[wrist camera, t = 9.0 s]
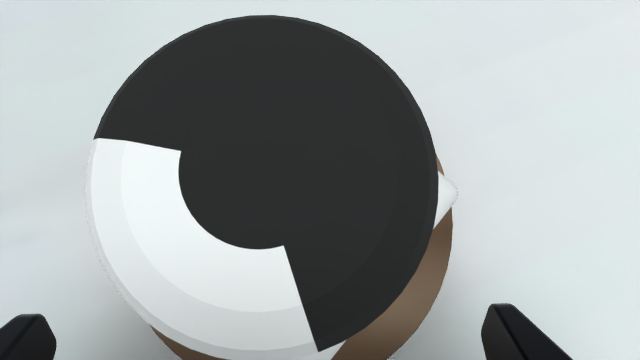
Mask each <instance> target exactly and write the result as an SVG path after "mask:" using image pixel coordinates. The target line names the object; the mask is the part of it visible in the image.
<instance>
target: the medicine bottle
mask: <svg viewBox="0 0 640 360" xmlns="http://www.w3.org/2000/svg"><path fill="white" fill-rule="evenodd" d="M85 196H86V214H87V219H88V224H89V229H90V234H91V238H92V241H93V244H94V246H95V249H96V252H97V255H98V257H99V260H100V262H101V264H102V266H103V268H104V270H105V272H106V273H107V275H108V277H109V279H110V281H111V283H112V284H113V285H114V287H115V288H116V289H117V291H118V292H119V293H120V295H121V296H122V297H123V299H124V300H125V301H126V303H127V304H128V305H129V306H130V307H131V308H132V309H133V310H134V311H135V312H136V313H137V314H138V315H139V316H140V317H141V318H142V319H143V320H144V321H145V322H147V323H148V324H150V325H151V326H152V327H154V328H155V329H157V330H158V331H159V332H161V333H162V334H163V335H165V336H166V337H168V338H170V339H172V340H174V341H176V342H178V343H180V344H182V345H184V346H186V347H188V348H189V349H192V350H195V351H198V352H201V353H204V354H207V355H210V356H213V357H217V358H223V359H229V360H331V359H332V358H333V356H334V355H335V354H336V352H337V351H338V350H339V349H340V347H341V346H342V345H343V344H344V342H345V341H346V340H347V339H348V338H350V337H352V336H353V335H355V334H357V333H358V332H360V331H361V330H363V329H365V328H366V327H367V326H368V325H370V324H371V323H372V322H373V321H374V320H376V319H377V318H378V317H379V316H380V315H382V314H383V313H384V312H385V311H386V310H387V309H388V308H389V307H390V305H391V304H392V303H393V302H394V301H395V300H396V299H397V298H398V297H399V295H400V294H401V293H402V292H403V290H404V289H405V287H406V286H407V284H408V283H409V281H410V280H411V278H412V277H413V275H414V274H415V272H416V271H417V268H418V266H419V264H420V262H421V260H422V258H423V256H424V254H425V252H426V250H427V247H428V244H429V240H430V237H431V234H432V231H433V229H434V228H435V227H436V225H437V224H438V223H439V222H440V220H441V219H442V218H443V216H444V215H445V214H446V213H447V211H448V210H449V209H450V208H451V206H452V205H453V204H454V202H455V200H456V198H457V196H458V191H457V188H456V186H455V185H454V184H453V183H452V182H451V181H450V180H449V179H447V178H446V177H445V176H444V175H442V174H441V173H440V172H439V171H438V168H437V160H436V153H435V149H434V145H433V141H432V138H431V134H430V131H429V128H428V126H427V123H426V121H425V119H424V116H423V114H422V111H421V109H420V108H419V106H418V104H417V102H416V101H415V99H414V97H413V96H412V94H411V92H410V91H409V89H408V88H407V87H406V85H405V84H404V83H403V82H402V80H401V79H400V78H399V77H398V75H397V74H396V73H395V72H394V71H393V70H392V69H391V68H390V67H389V66H388V65H387V64H386V63H385V62H384V61H383V60H382V59H381V58H380V57H379V56H378V55H376V54H375V53H374V52H372V51H371V50H369V49H368V48H367V47H365V46H364V45H363V44H361V43H360V42H358V41H356V40H354V39H353V38H351V37H349V36H347V35H345V34H344V33H342V32H340V31H337V30H335V29H332V28H330V27H327V26H324V25H322V24H319V23H315V22H311V21H307V20H303V19H299V18H294V17H285V16H276V15H257V16H244V17H237V18H231V19H226V20H222V21H218V22H215V23H211V24H208V25H204V26H202V27H200V28H197V29H195V30H193V31H190V32H188V33H186V34H183V35H182V36H180V37H178V38H176V39H175V40H173V41H171V42H170V43H168V44H166V45H164V46H163V47H162V48H160V49H159V50H158V51H156V52H155V53H154V54H153V55H151V56H150V57H149V58H147V59H146V60H145V61H144V62H143V63H142V64H141V65H140V66H139V67H138V68H137V69H136V70H135V71H134V72H133V73H132V74H131V75H130V76H129V77H128V78H127V80H126V81H125V82H124V83H123V85H122V86H121V87H120V89H119V90H118V91H117V93H116V94H115V95H114V97H113V99H112V100H111V102H110V104H109V106H108V107H107V109H106V111H105V113H104V115H103V116H102V118H101V121H100V124H99V126H98V129H97V131H96V134H95V136H94V139H93V142H92V146H91V151H90V155H89V159H88V163H87V173H86V184H85Z"/></svg>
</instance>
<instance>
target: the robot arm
mask: <svg viewBox="0 0 640 360" xmlns="http://www.w3.org/2000/svg"><path fill="white" fill-rule="evenodd" d="M481 337H482V343H483V347H484V351H485V355H486V360H573V359H572V358H571V357H570V356H568V355H567V354H566V353H565V352H564V351H563V350H562V349H561V348H560V347H559V346H558V345H556V344H555V343H554V342H553V341H552V340H551V339H550V338H549V337H548V336H547V335H545V334H544V333H543V332H542V331H541V330H540V329H539V328H538V327H537V326H536V325H535V324H533V323H532V322H531V321H530V320H529V319H528V318H527V317H526V316H525V315H524V314H523V313H521V312H520V311H519V310H518V309H517V308H516V307H515V306H513V305H512V304H508V303H499V304H491V305H490V306H489V308H488V311H487V314H486V317H485V320H484V323H483V326H482V330H481ZM55 351H56V338H55V336H54V334H53V332H52V330H51V329H50V327H49V325H48V323H47V321H46V319H45V317H44V316H43V315H41V314H21V315H18V316H16V317H15V318H13V319H12V320H11V321H9V322H8V323H7V324H6V325H4V326H3V327H2V328H0V360H53V358H54V355H55Z"/></svg>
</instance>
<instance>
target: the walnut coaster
mask: <svg viewBox="0 0 640 360" xmlns="http://www.w3.org/2000/svg"><path fill="white" fill-rule="evenodd" d="M436 160H437V168H438V171H439V172H440V173H441V174H442V175H444V173H443V170H442V167H441V164H440V162H439V159H438V157H437V155H436ZM452 228H453V224H452V209H451V208H450V209H449V210H448V211H447V213H446V214H445V215H444V216H443V218H442V219H441V220H440V222H439V223H438V224H437V225H436V227H435V228H434V229H433V231H432V234H431V237H430V240H429V244H428V247H427V250H426V252H425V254H424V256H423V258H422V260H421V262H420V264H419V266H418V268H417V271H416V272H415V274H414V275H413V277H412V278H411V280H410V281H409V283H408V284H407V286H406V287H405V289H404V290H403V292H402V293H401V294H400V295H399V297H398V298H397V299H396V300H395V301H394V302H393V303H392V304H391V305H390V307H389V308H388V309H387V310H386V311H385V312H384V313H383V314H382V315H380V316H379V317H378V318H377V319H376V320H374V321H373V322H372V323H371V324H370V325H368V326H367V327H366V328H365V329H363V330H361V331H360V332H358V333H357V334H355V335H353V336H352V337H350V338H348V339H347V340H346V341H345V342H344V344H343V345H342V346H341V347H340V349H339V350H338V351H337V352H336V354H335V355H334V356H333V358H332V359H331V360H386V359H387V358H389V357H390V356H391V355H392V354H393V353H394V352H396V351H397V350H398V349H399V348H400V347H401V346H403V344H404V343H405V342H406V341H407V340H408V339H409V338H410V336H411V335H412V334H413V333H414V332H415V331H416V330H417V329H418V327H419V326H420V324H421V323H422V321H423V320H424V318H425V317H426V315H427V314H428V312H429V311H430V309H431V307H432V305H433V303H434V301H435V299H436V297H437V295H438V293H439V291H440V288H441V285H442V282H443V279H444V276H445V273H446V270H447V266H448V261H449V256H450V251H451V243H452ZM149 325H150V324H149ZM150 326H151V325H150ZM151 327H152V326H151ZM152 329H153V330H154V332H155V333H156V334H157V335H158V336H159V338H160V339H161V340H162V341H163V342H164V343H165V344H166V345H167V346H168V347H169V348H170V349H171V350H172V351H173V352H174V353H175V354H177V355H178V356H179V357H180V358H182V359H183V360H229V359H223V358H217V357H213V356H210V355H207V354H204V353H201V352H198V351H195V350H192V349H189V348H188V347H186V346H184V345H182V344H180V343H178V342H176V341H174V340H172V339H170V338H168V337H166V336H165V335H163V334H162V333H161V332H159V331H158V330H157V329H155V328H154V327H152Z"/></svg>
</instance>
